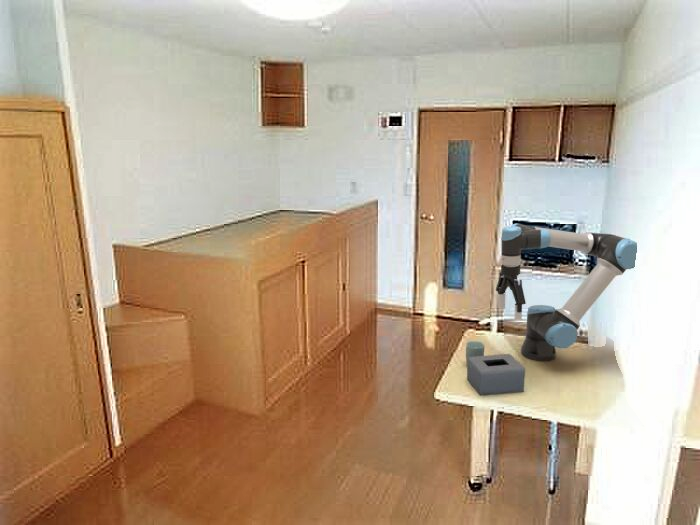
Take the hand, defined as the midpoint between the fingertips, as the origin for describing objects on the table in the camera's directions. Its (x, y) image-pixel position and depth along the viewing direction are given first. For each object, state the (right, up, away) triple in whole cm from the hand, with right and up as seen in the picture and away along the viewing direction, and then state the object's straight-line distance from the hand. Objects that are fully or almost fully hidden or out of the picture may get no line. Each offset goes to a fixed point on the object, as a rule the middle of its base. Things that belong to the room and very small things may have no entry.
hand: (509, 313), depth 215 cm
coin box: (-8, -28, -7) cm, 30 cm away
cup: (-12, -24, +11) cm, 29 cm away
